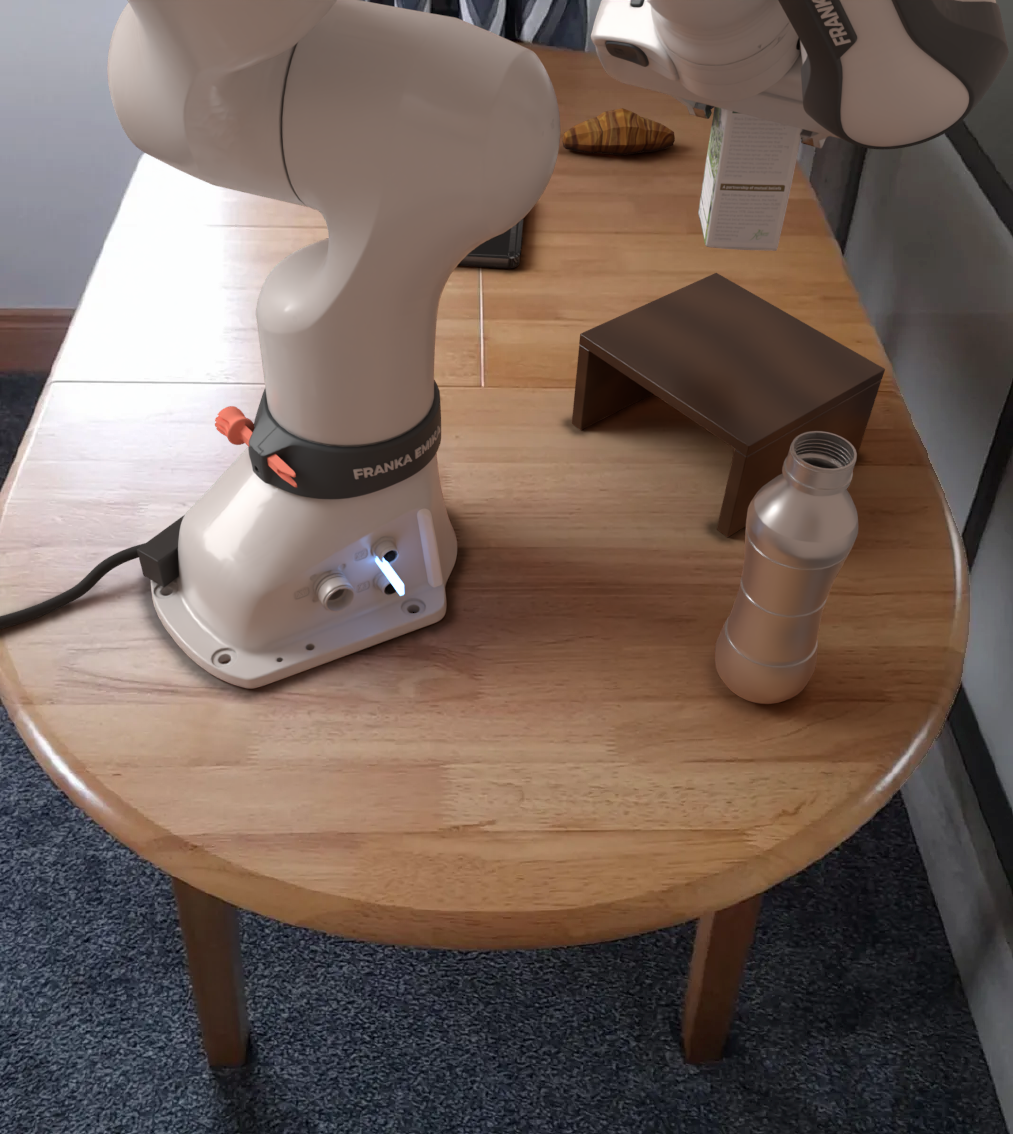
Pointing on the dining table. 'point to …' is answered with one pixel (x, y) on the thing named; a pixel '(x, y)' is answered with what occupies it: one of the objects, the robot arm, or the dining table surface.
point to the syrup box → (747, 181)
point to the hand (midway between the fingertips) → (758, 121)
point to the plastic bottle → (789, 570)
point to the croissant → (618, 134)
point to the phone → (498, 250)
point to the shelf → (728, 378)
